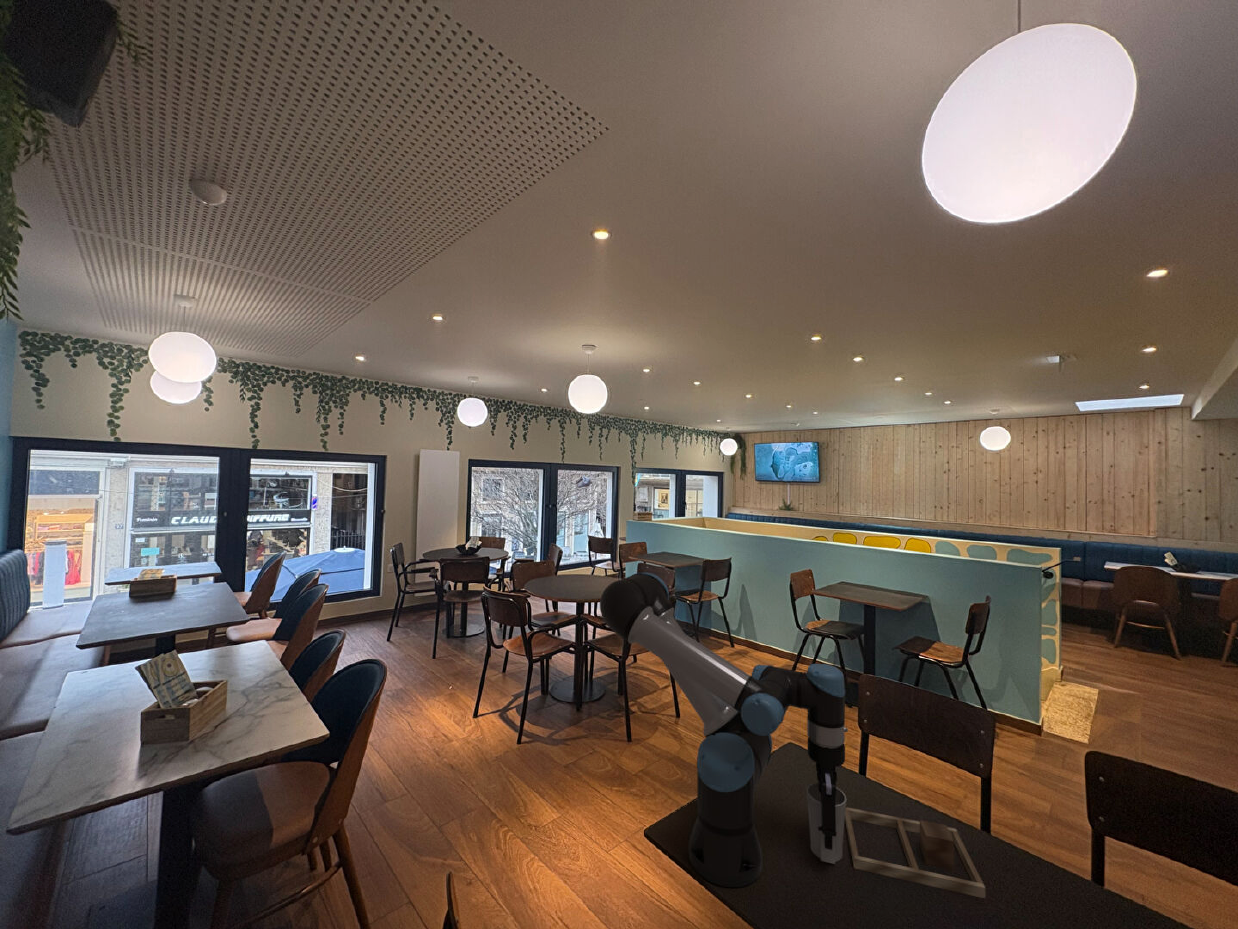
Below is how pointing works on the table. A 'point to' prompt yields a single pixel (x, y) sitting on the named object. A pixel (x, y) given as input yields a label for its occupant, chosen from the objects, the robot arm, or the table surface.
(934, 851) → the walnut block
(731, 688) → the robot arm
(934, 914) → the table surface
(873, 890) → the table surface
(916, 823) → the frame
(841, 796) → the cup
